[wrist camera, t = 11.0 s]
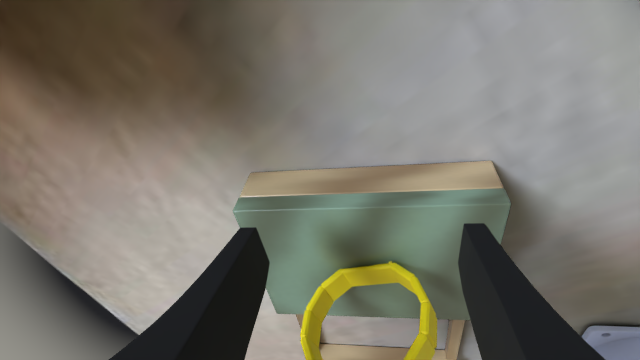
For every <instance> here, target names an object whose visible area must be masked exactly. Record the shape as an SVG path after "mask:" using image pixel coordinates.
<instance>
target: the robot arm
mask: <svg viewBox="0 0 640 360" xmlns="http://www.w3.org/2000/svg"><path fill="white" fill-rule="evenodd" d="M269 265H270V261H269V259H268V256H267V254H266V251H265V249H264V246H263V243H262V241H261V238H260V236H259V233H258V231H257V228H256V227H244V228H240V229H239V230H238V231H237V233H236V234H235V235H234V236H233V237H232V239H231V240H230V241H229V242H228V243H227V245H226V246H225V247H224V248H223V250H222V251H221V252H220V253H219V254H218V256H217V257H216V258H215V259H214V260H213V262H212V263H211V264H210V265H209V266H208V267H207V269H206V270H205V271H204V272H203V273H202V274H201V276H200V277H199V278H198V279H197V280H196V281H195V282H194V283H193V284H192V285H191V286H190V288H189V289H188V290H187V291H186V292H185V293H184V294H183V295H182V296H181V297H180V298H179V299H178V300H177V301H176V302H175V303H174V304H173V305H172V306H171V307H170V308H169V309H168V310H167V311H166V312H165V313H164V314H163V315H162V316H161V317H160V318H159V319H158V320H156V321H155V322H154V323H153V324H152V325H151V326H150V327H149V328H147V329H146V330H145V331H144V332H143V333H141V334H140V335H139V336H138V337H137V338H136V339H134V340H133V341H132V342H131V343H129V344H128V345H127V346H126V347H125V348H123V349H122V350H121V351H119V352H118V353H117V354H116V355H114V356H113V357H112V358H110V359H109V360H244V359H245V355H246V352H247V348H248V344H249V341H250V338H251V335H252V331H253V328H254V325H255V322H256V318H257V315H258V312H259V309H260V305H261V302H262V298H263V295H264V292H265V288H266V283H267V277H268V271H269ZM458 267H459V273H460V279H461V285H462V291H463V295H464V299H465V302H466V306H467V309H468V313H469V316H470V320H471V323H472V326H473V330H474V333H475V337H476V340H477V344H478V347H479V351H480V354H481V357H482V360H640V327H625V326H590V327H588V328H587V329H586V331H585V332H584V334H583V335H582V337H581V336H580V335H579V334H578V333H577V332H576V331H575V330H574V329H573V328H572V327H571V326H570V325H569V324H568V323H567V322H566V321H565V320H564V319H563V318H562V317H561V316H560V315H559V314H558V313H557V312H556V311H555V310H554V309H553V308H552V307H551V306H550V304H549V303H548V302H547V301H546V300H545V299H544V298H543V297H542V296H541V295H540V293H539V292H538V291H537V290H536V289H535V288H534V287H533V285H532V284H531V283H530V282H529V281H528V279H527V278H526V277H525V276H524V275H523V273H522V272H521V271H520V270H519V269H518V267H517V266H516V265H515V264H514V262H513V261H512V260H511V258H510V257H509V256H508V255H507V253H506V252H505V251H504V249H503V248H502V247H501V245H500V244H499V242H498V241H497V240H496V238H495V237H494V235H493V234H492V233H491V231H490V230H489V228H488V227H487V225H485V224H484V223H466V224H464V226H463V232H462V239H461V245H460V252H459V258H458Z"/></svg>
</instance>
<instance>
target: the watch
mask: <svg viewBox="0 0 640 360" xmlns="http://www.w3.org/2000/svg"><path fill="white" fill-rule="evenodd" d="M388 283H400V284H401V285H403V286H404V287H406V288H407V289H408V290H410V291H411V292H413V293H414V294H416V295H417V297H418V299H419V301H420V303H421V309H420V327H419V334H418V336H417V337H416V339H415V341H414V342H413V344H412V346H411V347H410V349H409V351H408V352H407V354H406V356H405V357H404V359H403V360H431V359H432V357H433V355H434V354H435V350H434V349H435V348H436V347H437V318H436V313H435V311H434V309H433V307H432V305H431V303H430V301H429V299H428V297H427V295H426V293H425V291H424V289H423V288H422V286H421V284H420V282H419V280H418V278H417V277H415V275H414V274H413V273H411V272H410V271H408V270H406V269H405V268H403V267H402V266H400V265H398V264H397V263H392V261H390V262H389V263H386V264H377V265H372V266H363V267H354V268H346V269H339V270H338V271H337V272H335V273H334V274H333V275H332V276H330V277H329V278H328V279H327V280H325V281H324V282H323V283H322V284H321V286H319V287H318V289H317V290H316V292H315V294H314V295H313V297H312V299H311V300H310V302H309V303H308V305H307V307H306V310H305V312H304V317H303V323H302V329H301V334H300V336H301V340H300V341H301V344H302V348H303V351H304V354H305V358H306V360H323V359H322V356H321V353H320V350H319V342H320V334H321V326H322V322H323V320H324V318H325V317H326V315H327V313H328V311H329V309H330V308H331V306H332V304H333V302H334V301H335V300H336V299H338V298H339V297H340V296H341V295H343V294H344V293H345V292H346V291H347V290H349V289H350V288H351V287H354V286H365V285H377V284H388Z"/></svg>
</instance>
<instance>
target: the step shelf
mask: <svg viewBox="0 0 640 360" xmlns="http://www.w3.org/2000/svg"><path fill="white" fill-rule="evenodd" d="M510 207H511V202H510V200H509V198H508V195H507V193H506V191H505V189H504V187H503V185H502V183H501V181H500V178H499V176H498V174H497V172H496V170H495V167H494V165H493V163H492V161H475V162H455V163H435V164H414V165H394V166H374V167H354V168H334V169H314V170H293V171H273V172H253V173H250V175H249V177H248V179H247V182H246V184H245V186H244V188H243V190H242V193H241V195H240V198H239V199H238V201H237V203H236V205H235V207H234V210H233V213H234V215H235V218H236V220H237V222H238V225H239V227H240V228H244V227H256V228H257V231H258V233H259V236H260V238H261V241H262V243H263V246H264V249H265V251H266V254H267V256H268V259H269V261H270V265H269V271H268V277H267V283H266V289H267V292H268V294H269V296H270V299H271V301H272V303H273V306H274V308H275V310H276V312H277V314H296V317H297V319H298V322H299V325H300V327H301V329H302V323H303V317H304V312H305V310H306V307H307V305H308V303H309V302H310V300H311V299H312V297H313V295H314V294H315V292H316V290H317V289H318V287H319V286H321V284H322V283H323V282H324V281H325V280H327V279H328V278H329V277H330V276H332V275H333V274H334V273H335V272H337V271H338V270H339V269H346V268H354V267H363V266H372V265H377V264H386V263H389V262H390V261H392V263H397V264H398V265H400V266H402V267H403V268H405V269H406V270H408V271H410V272H411V273H413V274H414V275H415V277H417V278H418V280H419V282H420V284H421V286H422V288H423V289H424V291H425V293H426V295H427V297H428V299H429V301H430V303H431V305H432V307H433V309H434V311H435V313H436V318H437V319H447V320H449V327H448V333H447V339H446V346H445V350H435V354H434V355H433V357H432V359H431V360H457V356H458V351H459V346H460V341H461V337H462V332H463V327H464V322H465V320H470V316H469V313H468V309H467V306H466V302H465V299H464V295H463V291H462V285H461V279H460V273H459V267H458V258H459V252H460V245H461V239H462V232H463V226H464V224H466V223H484V224H485V225H487V227H488V228H489V230H490V231H491V233H492V234H493V235H494V237H495V238H496V240H497V241H498V242H499V244H500V245H501V241H502V237H503V234H504V230H505V226H506V222H507V218H508V215H509V211H510ZM420 309H421V303H420V301H419V299H418V297H417V295H416V294H414V293H413V292H411V291H410V290H408V289H407V288H406V287H404V286H403V285H401V284H400V283H388V284H377V285H365V286H354V287H351V288H350V289H349V290H347V291H346V292H345V293H344V294H343V295H341V296H340V297H339V298H338V299H336V300H335V301H334V302H333V304H332V306H331V308H330V309H329V311H328V313H327V315H332V316H361V317H390V318H419V319H420ZM409 349H410V348H394V347H375V346H355V345H336V344H319V350H320V353H321V356H322V359H323V360H403V359H404V357H405V356H406V354H407V352H408V351H409Z"/></svg>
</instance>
